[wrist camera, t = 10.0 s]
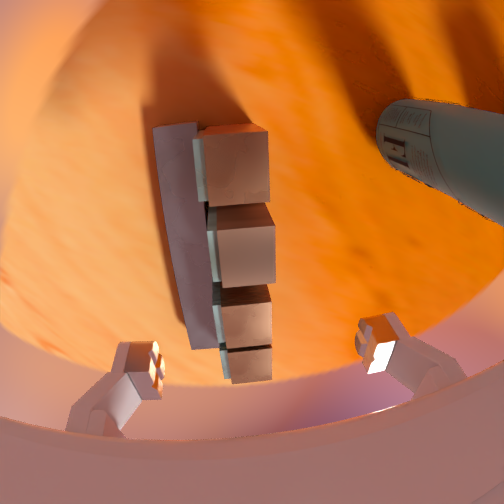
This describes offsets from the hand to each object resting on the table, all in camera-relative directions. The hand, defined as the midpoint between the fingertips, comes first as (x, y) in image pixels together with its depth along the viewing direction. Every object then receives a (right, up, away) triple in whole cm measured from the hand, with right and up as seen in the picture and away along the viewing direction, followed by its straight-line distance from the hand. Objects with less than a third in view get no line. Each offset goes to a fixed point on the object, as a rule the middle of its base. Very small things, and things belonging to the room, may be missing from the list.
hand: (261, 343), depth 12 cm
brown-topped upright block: (-2, +6, +13) cm, 15 cm away
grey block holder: (-3, +4, +14) cm, 15 cm away
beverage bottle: (+12, +14, +11) cm, 22 cm away
